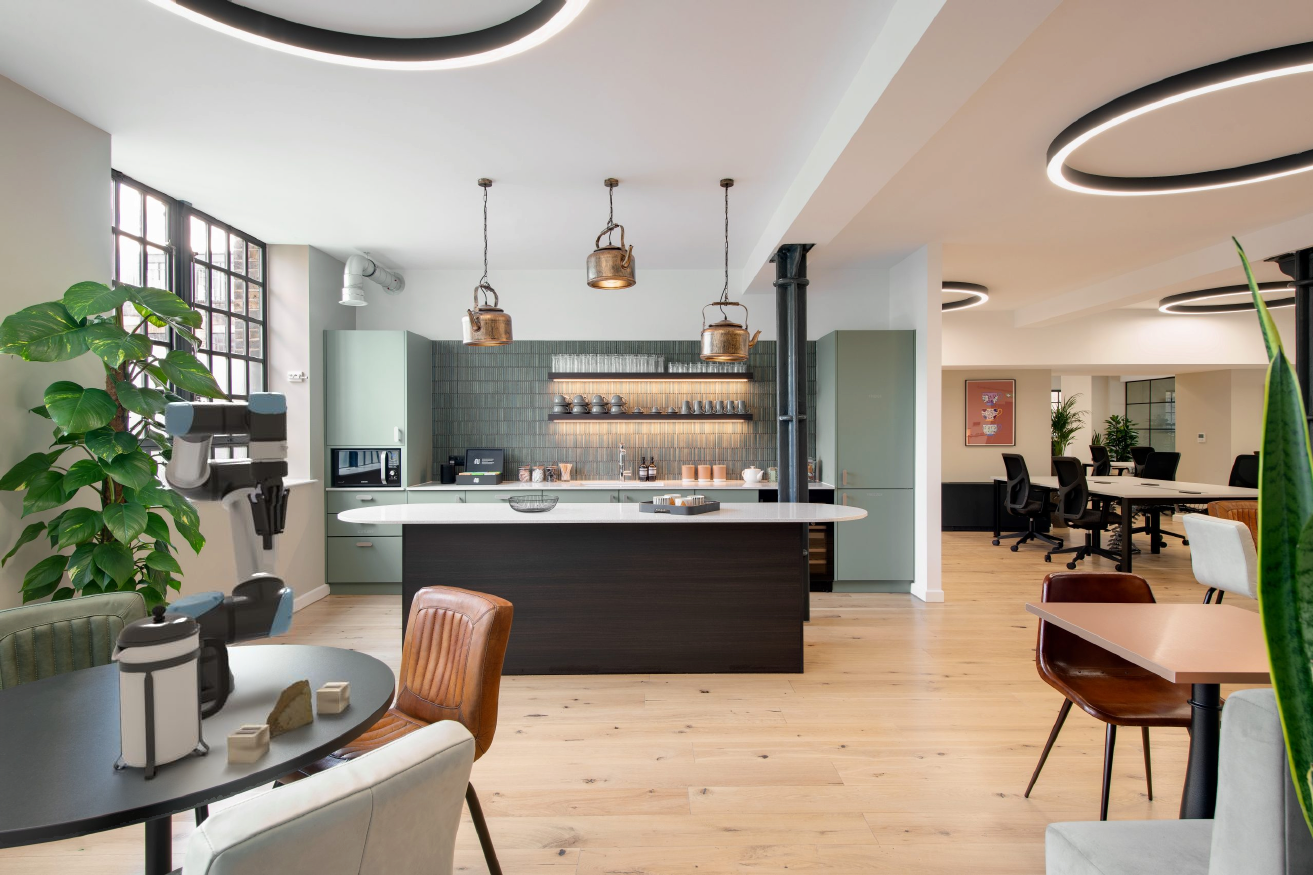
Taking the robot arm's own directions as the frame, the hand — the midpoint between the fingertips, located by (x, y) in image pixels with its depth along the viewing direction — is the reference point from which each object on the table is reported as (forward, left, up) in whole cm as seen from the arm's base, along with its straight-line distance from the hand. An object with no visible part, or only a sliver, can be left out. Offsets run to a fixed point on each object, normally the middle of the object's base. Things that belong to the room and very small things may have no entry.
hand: (271, 563), depth 149 cm
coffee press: (+24, -6, -33) cm, 41 cm away
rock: (+12, +10, -33) cm, 36 cm away
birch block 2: (+3, +15, -33) cm, 36 cm away
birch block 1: (+24, +9, -33) cm, 41 cm away
